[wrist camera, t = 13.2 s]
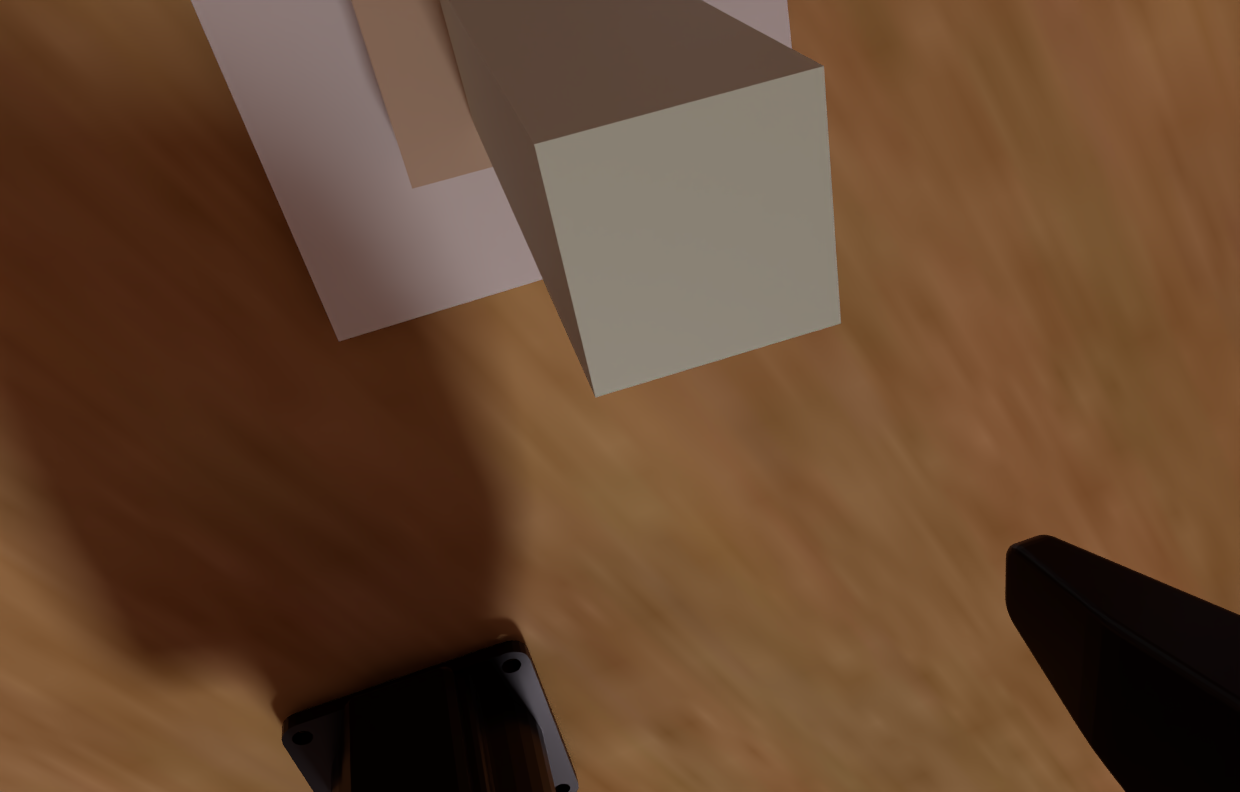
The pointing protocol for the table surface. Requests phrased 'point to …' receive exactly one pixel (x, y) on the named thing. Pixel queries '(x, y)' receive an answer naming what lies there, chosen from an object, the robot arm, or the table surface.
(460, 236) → the pad
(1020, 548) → the robot arm
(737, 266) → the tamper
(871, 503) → the table surface
